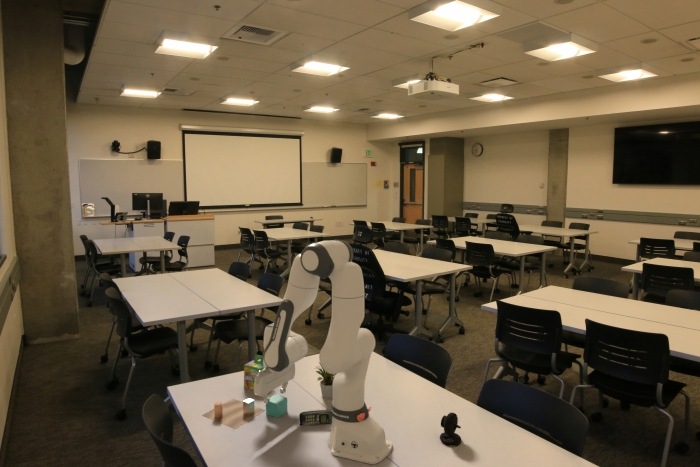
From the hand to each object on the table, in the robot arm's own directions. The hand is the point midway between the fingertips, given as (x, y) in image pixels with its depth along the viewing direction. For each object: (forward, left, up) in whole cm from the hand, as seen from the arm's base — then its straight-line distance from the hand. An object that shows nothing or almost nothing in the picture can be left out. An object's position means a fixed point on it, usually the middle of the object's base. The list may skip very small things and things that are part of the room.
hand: (275, 397), depth 174 cm
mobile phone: (-18, -5, -8) cm, 20 cm away
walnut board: (+13, +9, -7) cm, 18 cm away
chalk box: (+22, -14, -8) cm, 27 cm away
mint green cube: (-1, 0, -7) cm, 7 cm away
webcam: (-64, -20, -8) cm, 67 cm away
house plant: (-9, -23, -8) cm, 26 cm away
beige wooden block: (+8, +6, -6) cm, 12 cm away
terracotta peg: (+16, +14, -6) cm, 22 cm away
